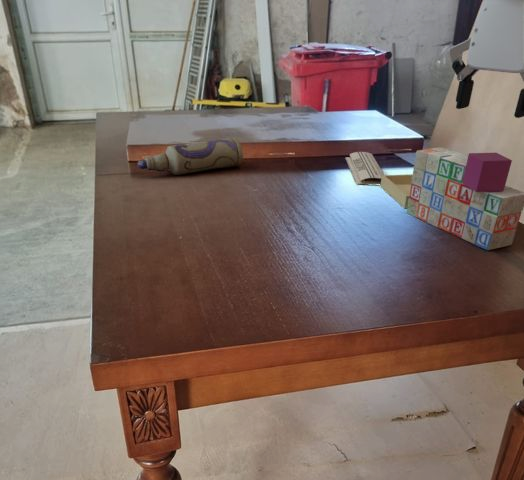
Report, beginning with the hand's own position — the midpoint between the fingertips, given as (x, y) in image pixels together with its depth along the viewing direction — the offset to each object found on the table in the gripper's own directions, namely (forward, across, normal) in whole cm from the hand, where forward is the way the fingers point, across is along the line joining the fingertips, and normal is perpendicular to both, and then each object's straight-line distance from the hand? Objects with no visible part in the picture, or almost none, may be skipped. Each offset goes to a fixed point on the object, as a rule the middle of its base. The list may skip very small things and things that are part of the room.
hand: (490, 112), depth 83 cm
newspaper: (+21, +38, -22) cm, 48 cm away
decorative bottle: (+21, +66, +10) cm, 70 cm away
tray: (+21, +18, -14) cm, 31 cm away
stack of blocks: (+21, +3, -3) cm, 22 cm away
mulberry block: (+12, -2, 0) cm, 12 cm away
